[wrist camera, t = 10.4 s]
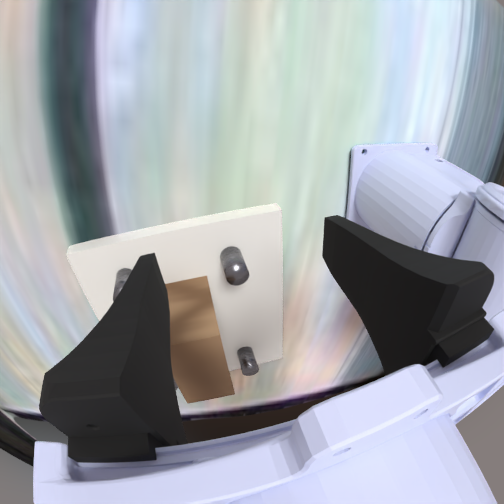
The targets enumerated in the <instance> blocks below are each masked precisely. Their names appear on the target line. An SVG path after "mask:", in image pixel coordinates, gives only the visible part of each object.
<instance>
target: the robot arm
mask: <svg viewBox="0 0 504 504" xmlns="http://www.w3.org/2000/svg"><path fill="white" fill-rule="evenodd" d="M363 149H365V151H364V153H363V154H362V150H363ZM425 149H426V150H425ZM437 151H438V147H437V145H436V144H433V143H395V144H367V145H355V146H354V147H353V148H352V151H351V166H350V181H349V193H348V205H347V215H346V218H343V217H341V216H338V215H336V216H330V217H325V221H324V239H323V255H322V256H323V258H324V260H325V262H326V264H327V267H328V268H329V270H330V272H331V274H332V276H333V277H334V279H335V280H336V282H337V283H338V284H339V286H340V287H341V289H342V290H343V292H344V293H345V295H346V296H347V297H348V299H349V300H350V302H351V303H352V305H353V306H354V308H355V309H356V311H357V312H358V314H359V316H360V317H361V319H362V321H363V323H364V325H365V327H366V329H367V331H368V333H369V335H370V337H371V339H372V342H373V344H374V346H375V348H376V351H377V353H378V356H379V358H380V361H381V363H382V366H383V368H384V371H385V374H386V376H385V377H383V378H380V379H378V380H376V381H373V382H371V383H369V384H366V385H364V386H361V387H359V388H356V389H354V390H351V391H349V392H346V393H343V394H341V395H338V396H335V397H332V398H330V399H328V400H326V401H324V402H321V403H319V404H317V405H314V406H312V407H311V408H310V409H308V410H307V411H305V412H304V413H302V414H301V415H299V417H298V418H297V419H295V420H292V421H289V422H285V423H282V424H278V425H274V426H271V427H267V428H263V429H259V430H255V431H251V432H247V433H243V434H238V435H234V436H229V437H224V438H220V439H214V440H208V441H203V442H197V443H190V444H188V443H187V440H186V436H185V432H184V428H183V424H182V420H181V415H180V411H179V406H178V401H177V396H176V391H175V385H174V379H173V373H172V366H171V349H170V308H169V300H168V292H167V288H166V286H165V283H164V280H163V277H162V274H161V271H160V268H159V265H158V262H157V258H156V255H155V253H150V254H146V255H141V256H140V257H139V259H138V260H137V262H136V264H135V266H134V268H133V270H132V271H131V273H130V275H129V277H128V279H127V280H126V282H125V284H124V286H123V287H122V289H121V291H120V292H119V294H118V296H117V297H116V299H115V300H114V302H113V304H112V305H111V307H110V308H109V309H108V311H107V312H106V314H105V315H104V316H103V317H102V319H101V320H100V321H99V323H98V324H97V325H96V326H95V327H94V328H93V330H92V331H91V332H90V333H89V334H88V335H87V336H86V337H85V339H84V340H83V341H82V342H81V343H80V344H79V345H78V346H77V347H76V348H75V349H74V350H73V351H71V352H70V353H69V354H68V355H67V356H66V357H65V358H64V359H63V360H61V361H60V362H59V363H58V364H56V365H55V366H54V367H53V368H51V369H50V370H49V371H48V372H46V373H45V375H44V380H43V385H42V391H41V398H40V404H39V410H40V412H41V414H42V415H43V417H44V418H45V419H46V420H47V421H48V422H50V423H51V424H52V425H53V426H55V427H56V428H57V429H59V430H60V431H61V432H63V433H64V434H66V435H67V436H68V445H67V444H63V443H59V442H44V441H43V442H42V441H36V442H35V451H34V473H33V496H34V497H33V499H34V504H497V502H496V500H495V498H494V496H493V494H492V492H491V490H490V488H489V486H488V484H487V482H486V480H485V478H484V476H483V474H482V472H481V470H480V468H479V467H478V465H477V463H476V461H475V459H474V457H473V456H472V454H471V452H470V451H469V448H468V447H467V445H466V443H465V441H464V440H463V438H462V436H461V435H460V433H459V431H458V429H457V428H456V426H455V424H456V423H458V422H459V421H460V420H462V419H463V418H464V417H466V416H467V415H468V414H469V413H471V412H472V411H473V410H475V409H476V408H477V407H478V406H480V405H481V404H482V403H483V402H484V401H485V400H487V399H488V398H489V397H490V396H491V395H493V394H494V393H495V392H496V391H497V390H498V389H499V388H501V387H502V386H503V385H504V187H502V186H500V185H497V184H495V183H491V182H489V183H487V184H484V183H483V182H482V181H481V180H479V179H478V178H476V177H475V176H473V175H471V174H469V173H468V172H466V171H464V170H463V169H461V168H459V167H457V166H455V165H454V164H452V163H450V162H448V161H446V160H444V159H442V158H441V157H439V156H437ZM374 231H375V232H374Z"/></svg>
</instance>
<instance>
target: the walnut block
mask: <svg viewBox="0 0 504 504" xmlns="http://www.w3.org/2000/svg"><path fill="white" fill-rule="evenodd" d="M165 286H166V288H167V292H168V300H169V308H170V349H171V366H172V373H173V378H174V380H175V382H176V383H177V385H178V387H179V389H180V391H181V393H182V394H183V396H184V398H185V400H186V401H187V403H193V402H198V401H204V400H209V399H214V398H219V397H224V396H228V395H233V394H235V392H234V389H233V385H232V381H231V377H230V373H229V369H228V365H227V361H226V357H225V353H224V349H223V344H222V340H221V336H220V332H219V328H218V323H217V319H216V314H215V310H214V306H213V301H212V297H211V292H210V287H209V283H208V278H207V276H202V277H197V278H192V279H187V280H182V281H177V282H173V283H168V284H165Z"/></svg>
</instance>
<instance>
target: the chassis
mask: <svg viewBox="0 0 504 504" xmlns="http://www.w3.org/2000/svg"><path fill="white" fill-rule="evenodd" d="M150 253H155V255H156V258H157V262H158V265H159V268H160V271H161V274H162V277H163V280H164V283H165V284H168V283H173V282H177V281H182V280H187V279H192V278H197V277H202V276H207V278H208V283H209V287H210V292H211V297H212V301H213V306H214V310H215V314H216V319H217V323H218V328H219V332H220V336H221V340H222V344H223V349H224V353H225V357H226V361H227V365H228V369H229V371H232V370H236V369H242V373H243V375H246V376H250V375H254V374H256V373H257V372H258V371H259V368H258V365H257V364H261V363H265V362H269V361H273V360H277V359H281V358H283V249H282V210H281V208H280V207H279V206H278V204H277V203H272V204H266V205H261V206H255V207H249V208H244V209H238V210H233V211H227V212H222V213H217V214H212V215H206V216H201V217H196V218H191V219H186V220H181V221H176V222H171V223H167V224H162V225H157V226H153V227H148V228H143V229H139V230H134V231H130V232H125V233H121V234H117V235H112V236H108V237H104V238H99V239H95V240H91V241H87V242H83V243H79V244H75V245H71V246H69V248H68V250H67V253H66V257H67V259H68V261H69V263H70V265H71V267H72V270H73V272H74V274H75V276H76V278H77V280H78V282H79V284H80V286H81V288H82V290H83V292H84V294H85V296H86V298H87V299H88V301H89V303H90V305H91V307H92V309H93V311H94V312H95V314H96V316H97V318H98V320H99V321H100V320H101V319H102V317H103V316H104V315H105V314H106V312H107V311H108V309H109V308H110V307H111V305H112V304H113V302H114V300H115V299H116V297H117V296H118V294H119V292H120V291H121V289H122V287H123V286H124V284H125V282H126V280H127V279H128V277H129V275H130V273H131V271H132V270H133V268H134V266H135V264H136V262H137V260H138V259H139V257H140V256H141V255H146V254H150ZM173 379H174V378H173ZM174 385H175V390H177V388H178V385H177V383H176V382H175V380H174Z"/></svg>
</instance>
